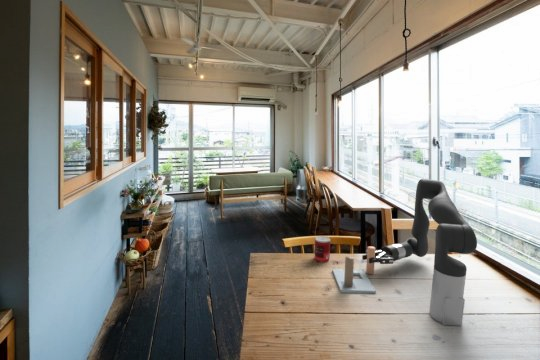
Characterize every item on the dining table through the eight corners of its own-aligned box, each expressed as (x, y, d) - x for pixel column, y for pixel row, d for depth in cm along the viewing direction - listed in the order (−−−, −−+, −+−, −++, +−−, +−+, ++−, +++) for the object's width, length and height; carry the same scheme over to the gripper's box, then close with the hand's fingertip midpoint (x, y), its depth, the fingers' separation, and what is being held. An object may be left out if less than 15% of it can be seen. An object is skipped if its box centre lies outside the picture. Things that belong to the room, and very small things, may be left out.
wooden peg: (374, 274, 125) (376, 249, 124) (367, 274, 126) (368, 249, 124) (372, 270, 129) (373, 246, 127) (365, 270, 129) (366, 246, 127)
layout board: (375, 293, 111) (377, 262, 109) (340, 292, 111) (342, 261, 109) (362, 271, 128) (364, 245, 127) (332, 271, 129) (333, 244, 127)
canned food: (328, 256, 146) (329, 236, 144) (330, 262, 138) (331, 241, 136) (314, 255, 146) (314, 235, 145) (314, 262, 138) (315, 241, 137)
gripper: (381, 240, 138) (355, 246, 131) (406, 250, 125) (378, 257, 118) (380, 254, 139) (354, 260, 132) (405, 266, 127) (377, 273, 119)
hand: (366, 259), depth 125 cm, fingers closed on wooden peg, 3 cm apart
